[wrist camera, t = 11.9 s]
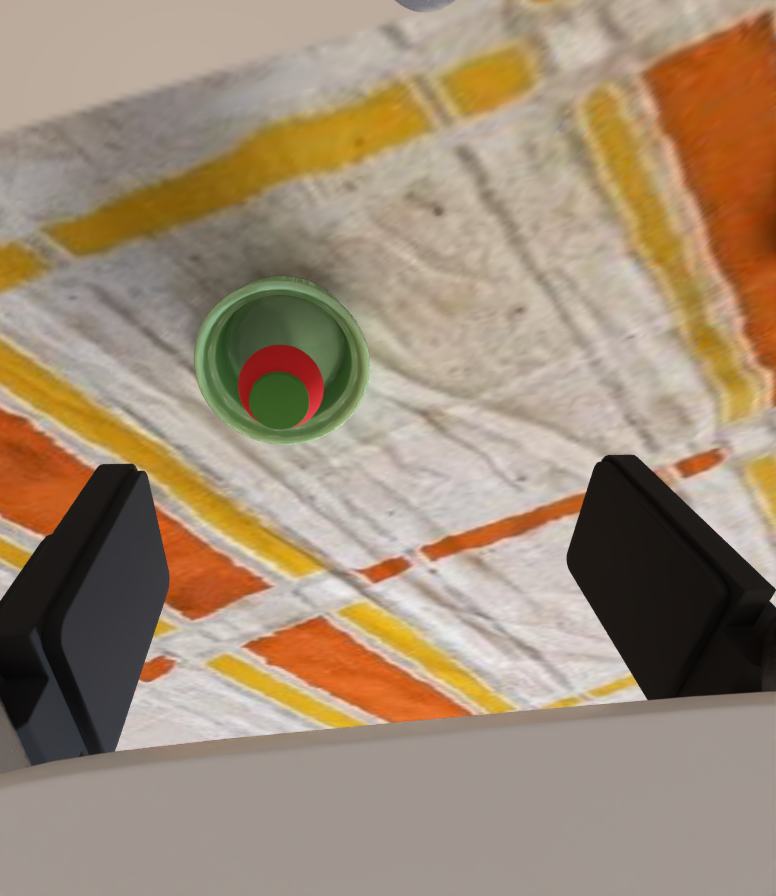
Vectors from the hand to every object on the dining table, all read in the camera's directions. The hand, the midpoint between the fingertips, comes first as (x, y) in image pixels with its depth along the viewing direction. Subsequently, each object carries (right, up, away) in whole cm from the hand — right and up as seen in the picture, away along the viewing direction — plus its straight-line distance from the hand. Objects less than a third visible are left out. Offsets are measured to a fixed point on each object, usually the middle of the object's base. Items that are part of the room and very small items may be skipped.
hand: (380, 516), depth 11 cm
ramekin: (-6, +8, +19) cm, 22 cm away
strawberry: (-5, +5, +15) cm, 17 cm away
